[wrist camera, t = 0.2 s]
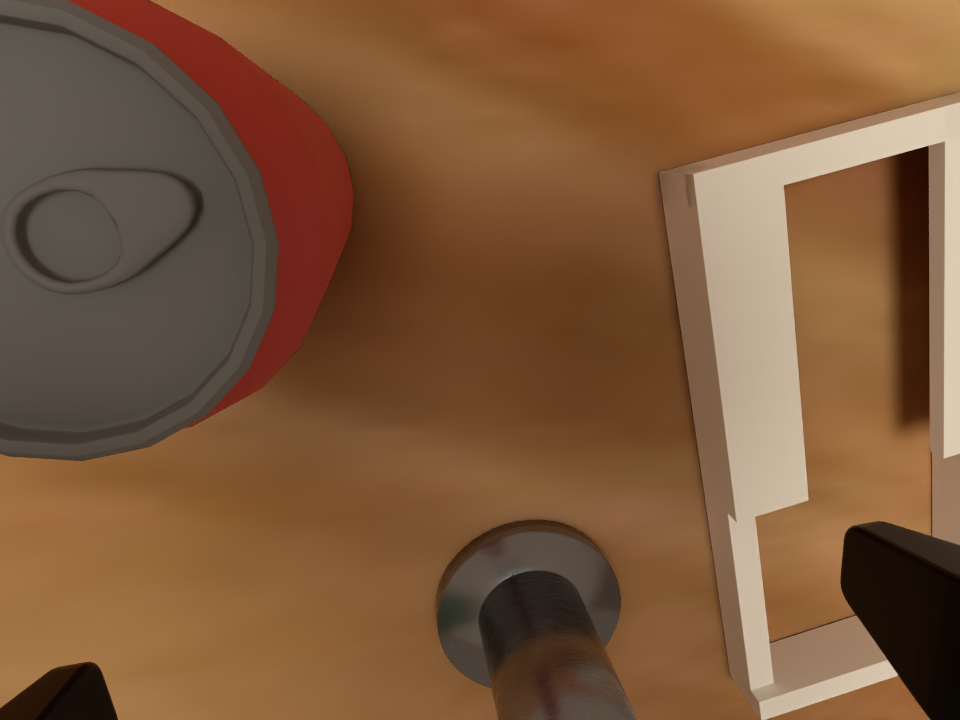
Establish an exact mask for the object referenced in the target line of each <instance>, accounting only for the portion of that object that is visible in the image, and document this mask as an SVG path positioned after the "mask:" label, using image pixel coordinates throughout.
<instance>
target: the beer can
mask: <svg viewBox="0 0 960 720" xmlns="http://www.w3.org/2000/svg"><path fill="white" fill-rule="evenodd" d="M353 203H354V192H353V187H352V183H351V178H350V174H349V169H348V165H347V160H346V157H345V156H344V154H343V152H342V150H341V149H340V147H339V145H338V143H337V141H336V140H335V138H334V136H333V134H332V133H331V131H330V129H329V127H328V125H327V124H326V123H325V122H324V121H323V120H322V119H321V118H320V117H319V116H318V115H317V114H316V113H315V112H313V111H312V110H311V109H310V108H309V107H308V106H307V105H306V104H305V103H304V102H303V101H302V100H301V99H300V98H299V97H298V96H297V95H295V94H294V93H293V92H291V91H290V90H289V89H287V88H286V87H285V86H283V85H282V84H281V83H280V82H278V81H277V80H276V79H274V78H273V77H272V76H270V75H269V74H268V73H266V72H265V71H264V70H262V69H261V68H260V67H258V66H257V65H256V64H254V63H253V62H252V61H251V60H249V59H248V58H247V57H245V56H244V55H243V54H241V53H240V52H239V51H237V50H236V49H235V48H233V47H232V46H231V45H229V44H228V43H227V42H226V41H224V40H223V39H222V38H220V37H218V36H216V35H215V34H213V33H211V32H209V31H207V30H205V29H203V28H201V27H199V26H197V25H196V24H194V23H192V22H190V21H188V20H186V19H184V18H182V17H180V16H178V15H177V14H175V13H173V12H171V11H169V10H167V9H165V8H163V7H161V6H159V5H157V4H156V3H154V2H152V1H150V0H0V454H3V455H6V456H11V457H27V458H43V459H59V460H74V461H84V460H89V459H94V458H99V457H104V456H108V455H113V454H118V453H123V452H128V451H133V450H137V449H142V448H147V447H150V446H152V445H154V444H156V443H158V442H159V441H161V440H163V439H165V438H167V437H169V436H170V435H172V434H174V433H176V432H178V431H180V430H181V429H183V428H187V427H192V426H194V425H196V424H198V423H199V422H201V421H203V420H205V419H207V418H208V417H210V416H212V415H214V414H216V413H218V412H219V411H221V410H223V409H225V408H227V407H229V406H230V405H232V404H234V403H236V402H238V401H240V400H241V399H243V398H245V397H247V396H249V395H250V394H252V393H254V392H256V391H258V390H259V389H261V388H262V387H263V386H264V385H265V384H266V383H267V382H268V381H269V380H270V379H271V378H272V376H273V375H274V374H275V373H276V372H277V371H278V370H279V369H280V368H281V367H282V366H283V365H284V364H285V362H286V361H287V360H288V359H289V358H290V357H291V356H292V355H293V354H294V353H295V352H296V351H297V350H298V348H299V347H300V346H301V345H302V344H303V341H304V339H305V337H306V335H307V332H308V330H309V328H310V326H311V323H312V321H313V319H314V316H315V314H316V312H317V310H318V307H319V305H320V303H321V301H322V298H323V296H324V294H325V291H326V289H327V287H328V284H329V282H330V280H331V277H332V275H333V272H334V270H335V267H336V265H337V263H338V260H339V258H340V255H341V253H342V251H343V248H344V246H345V243H346V241H347V239H348V236H349V234H350V231H351V224H352V214H353Z"/></svg>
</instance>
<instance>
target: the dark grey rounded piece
mask: <svg viewBox="0 0 960 720" xmlns="http://www.w3.org/2000/svg"><path fill="white" fill-rule="evenodd" d="M620 605H621V597H620V589H619V585H618V582H617V579H616V576H615V574H614V572H613V570H612V568H611V567H610V565H609V563H608V561H607V560H606V558H605V556H604V554H603V553H602V551H601V550H600V549H599V547H598V546H597V545H596V544H595V543H594V542H593V541H592V540H591V539H590V538H589V537H588V536H586V535H585V534H584V533H582V532H580V531H579V530H577V529H575V528H573V527H571V526H568V525H565V524H562V523H558V522H554V521H547V520H524V521H517V522H513V523H509V524H505V525H502V526H499V527H496V528H494V529H492V530H490V531H488V532H486V533H484V534H482V535H480V536H479V537H477V538H476V539H474V540H473V541H471V542H470V543H469V544H468V545H467V546H465V547H464V548H463V549H462V550H461V551H460V552H459V553H458V554H457V555H456V556H455V558H454V559H453V560H452V562H451V563H450V564H449V566H448V567H447V569H446V571H445V573H444V575H443V577H442V579H441V582H440V584H439V588H438V592H437V597H436V615H437V624H438V632H439V637H440V641H441V645H442V647H443V649H444V652H445V654H446V655H447V657H448V659H449V660H450V662H451V663H452V664H453V665H454V666H455V667H456V668H457V669H458V670H459V671H460V672H461V673H462V674H464V675H465V676H466V677H468V678H470V679H471V680H473V681H475V682H477V683H479V684H481V685H484V686H487V687H490V688H492V692H493V697H494V701H495V706H496V711H497V716H498V720H637V718H636V716H635V714H634V711H633V709H632V707H631V705H630V703H629V701H628V698H627V696H626V694H625V692H624V690H623V687H622V685H621V683H620V681H619V679H618V677H617V674H616V672H615V670H614V668H613V666H612V663H611V661H610V659H609V657H608V655H607V652H606V650H605V648H604V647H605V646H606V644H607V643H608V641H609V640H610V638H611V636H612V634H613V632H614V630H615V628H616V625H617V622H618V619H619V613H620Z"/></svg>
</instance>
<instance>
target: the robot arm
mask: <svg viewBox="0 0 960 720" xmlns="http://www.w3.org/2000/svg"><path fill="white" fill-rule="evenodd" d="M840 582H841V588H842V592H843V595H844V597H845V599H846V601H847V602H848V604H849V606H850V607H851V608H852V610H853V611H854V613H855V614H856V616H857V617H858V618H859V620H860V621H861V623H862V624H863V626H864V627H865V628H866V630H867V631H868V633H869V634H870V636H871V637H872V638H873V640H874V641H875V643H876V644H877V646H878V647H879V648H880V650H881V651H882V653H883V654H884V656H885V657H886V658H887V660H888V661H889V663H890V664H891V666H892V667H893V668H894V670H895V671H896V673H897V674H898V676H899V677H900V678H901V680H902V681H903V683H904V684H905V686H906V687H907V688H908V690H909V691H910V693H911V694H912V695H913V697H914V698H915V700H916V701H917V702H918V704H919V705H920V706H921V708H922V709H923V710H924V712H925V713H926V714H927V716H928V717H929V718H930V720H960V545H958V544H955V543H952V542H949V541H945V540H942V539H939V538H936V537H932V536H929V535H926V534H923V533H919V532H916V531H913V530H910V529H906V528H903V527H900V526H897V525H893V524H890V523H887V522H881V521H876V522H870V523H865V524H859V525H854V526H852V527H850V528H849V529H848V530H847V531H846V533H845V537H844V545H843V556H842V567H841V579H840ZM0 720H118V718H117V714H116V711H115V708H114V706H113V703H112V700H111V697H110V694H109V691H108V688H107V685H106V682H105V680H104V677H103V674H102V671H101V669H100V668H99V667H98V665H97V664H95V663H92V662H84V663H78V664H72V665H67V666H61V667H57V668H54V669H52V670H50V671H49V672H47V673H46V674H45V675H43V676H42V677H41V678H39V679H38V680H37V681H35V682H34V683H33V684H32V685H30V686H29V687H28V688H26V689H25V690H24V691H22V692H21V693H20V694H18V695H17V696H16V697H14V698H13V699H12V700H10V701H9V702H8V703H7V704H5V705H4V706H3V707H1V708H0Z"/></svg>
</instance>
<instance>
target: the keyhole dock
mask: <svg viewBox="0 0 960 720" xmlns="http://www.w3.org/2000/svg"><path fill="white" fill-rule="evenodd" d="M926 146H929V343H930V452H932V537H936V538H939V539H942V540H945V541H949V542H952V543H955V544H958V545H960V92H957V93H953V94H949V95H945V96H942V97H938V98H934V99H930V100H927V101H923V102H919V103H916V104H912V105H908V106H904V107H901V108H897V109H893V110H889V111H886V112H882V113H878V114H875V115H871V116H867V117H863V118H860V119H856V120H852V121H848V122H845V123H841V124H837V125H834V126H830V127H826V128H822V129H819V130H815V131H811V132H807V133H804V134H800V135H796V136H793V137H789V138H785V139H781V140H778V141H774V142H770V143H766V144H763V145H759V146H755V147H752V148H748V149H744V150H740V151H737V152H733V153H729V154H725V155H722V156H718V157H714V158H711V159H707V160H703V161H699V162H696V163H692V164H688V165H684V166H681V167H677V168H673V169H669V170H666V171H662V172H658V173H659V180H660V187H661V194H662V201H663V208H664V215H665V222H666V229H667V236H668V243H669V250H670V257H671V264H672V271H673V278H674V285H675V292H676V299H677V306H678V313H679V320H680V327H681V334H682V341H683V348H684V355H685V362H686V369H687V376H688V383H689V390H690V397H691V405H692V412H693V419H694V426H695V433H696V440H697V447H698V454H699V461H700V468H701V475H702V482H703V489H704V496H705V503H706V510H707V517H708V524H709V531H710V538H711V545H712V552H713V559H714V566H715V573H716V580H717V587H718V594H719V601H720V608H721V615H722V622H723V629H724V636H725V643H726V650H727V657H728V664H729V671H730V675H731V677H732V678H733V680H734V681H735V683H736V684H737V686H738V687H739V689H740V690H741V692H742V693H743V694H744V696H745V697H746V699H747V700H748V702H749V703H750V705H751V706H752V708H753V709H754V711H755V712H756V714H757V715H758V717H759V718H760V720H766V719H769V718H772V717H775V716H778V715H781V714H784V713H787V712H790V711H793V710H796V709H799V708H802V707H805V706H808V705H811V704H814V703H817V702H820V701H823V700H826V699H829V698H832V697H835V696H838V695H841V694H844V693H847V692H850V691H853V690H856V689H859V688H862V687H865V686H868V685H871V684H874V683H877V682H880V681H883V680H886V679H889V678H892V677H895V676H898V674H897V673H896V671H895V670H894V668H893V667H892V666H891V664H890V663H889V661H888V660H887V658H886V657H885V656H884V654H883V653H882V651H881V650H880V648H879V647H878V646H877V644H876V643H875V641H874V640H873V638H872V637H871V636H870V634H869V633H868V631H867V630H866V628H865V627H864V626H863V624H862V623H861V621H860V620H859V618H858V617H857V616H853V617H850V618H846V619H843V620H840V621H837V622H834V623H831V624H828V625H825V626H822V627H819V628H816V629H812V630H809V631H806V632H803V633H800V634H797V635H794V636H791V637H788V638H785V639H782V640H778V641H775V642H772V643H769V635H768V626H767V617H766V609H765V600H764V591H763V582H762V573H761V564H760V555H759V547H758V538H757V529H756V520H755V517H756V516H759V515H763V514H766V513H769V512H772V511H776V510H779V509H782V508H785V507H789V506H792V505H795V504H798V503H801V502H805V501H808V487H807V475H806V462H805V449H804V437H803V424H802V411H801V399H800V386H799V373H798V360H797V348H796V335H795V322H794V310H793V297H792V284H791V272H790V259H789V246H788V233H787V221H786V208H785V195H784V185H787V184H790V183H794V182H798V181H801V180H805V179H809V178H812V177H816V176H820V175H823V174H827V173H831V172H834V171H838V170H842V169H845V168H849V167H853V166H856V165H860V164H864V163H867V162H871V161H875V160H878V159H882V158H886V157H889V156H893V155H897V154H900V153H904V152H908V151H911V150H915V149H918V148H922V147H926Z"/></svg>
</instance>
